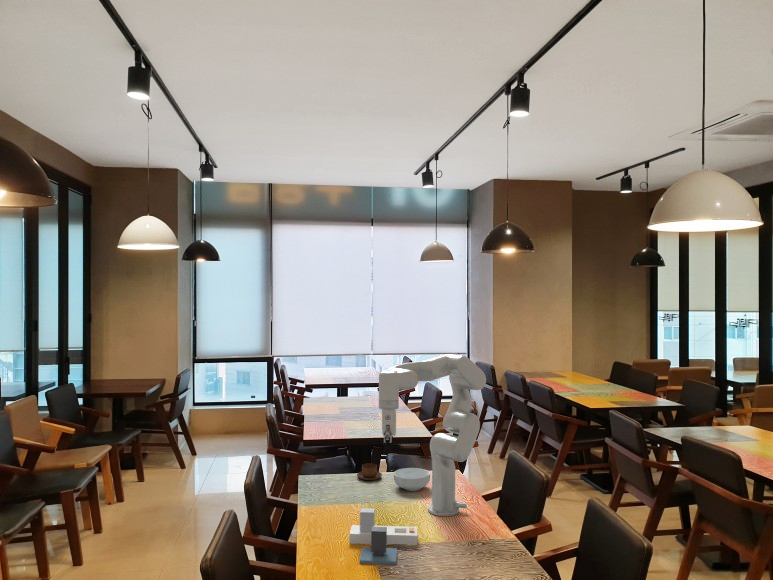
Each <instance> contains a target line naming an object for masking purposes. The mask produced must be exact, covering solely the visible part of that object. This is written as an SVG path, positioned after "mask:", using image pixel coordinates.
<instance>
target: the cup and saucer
mask: <svg viewBox="0 0 773 580" xmlns="http://www.w3.org/2000/svg"><path fill="white" fill-rule="evenodd" d="M382 475H383V474H382V472H380V471H378V465H377V464H375V463H371V462H370V463H364V464H361V471H359V472H357V473H356V476H357V478H359V479H360V480H365V481H376V480H378V479H380V478H381V477H382Z"/></svg>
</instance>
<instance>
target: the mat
mask: <svg viewBox="0 0 773 580" xmlns="http://www.w3.org/2000/svg"><path fill="white" fill-rule="evenodd" d="M360 552H361V553H360V557H359V564H361V565H362V564H363V565H364V564H366V565H368V564H369V565H370V564H371V565H394V564H396V565H397V558H398V557H397V555H398V554H397V553H398V548H397V547H395V548H394V547H387V549H386V553H384V557H383V556H374V552H371V547H369V546H368V547H365V546H362V547H361V551H360Z"/></svg>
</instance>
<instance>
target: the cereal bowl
mask: <svg viewBox="0 0 773 580" xmlns="http://www.w3.org/2000/svg"><path fill="white" fill-rule="evenodd" d="M393 480H394V482H395V485H396V486H398V487H399V488H402V489H404V490H405V491H410V492H413V491H421V489H422V488H425V487H426V486H427V485H429V483H430V480H431V472H430V471H429V470H427V469H424V468H419V467H406V468H399V469H396V470H395V471H394V472H393Z"/></svg>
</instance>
